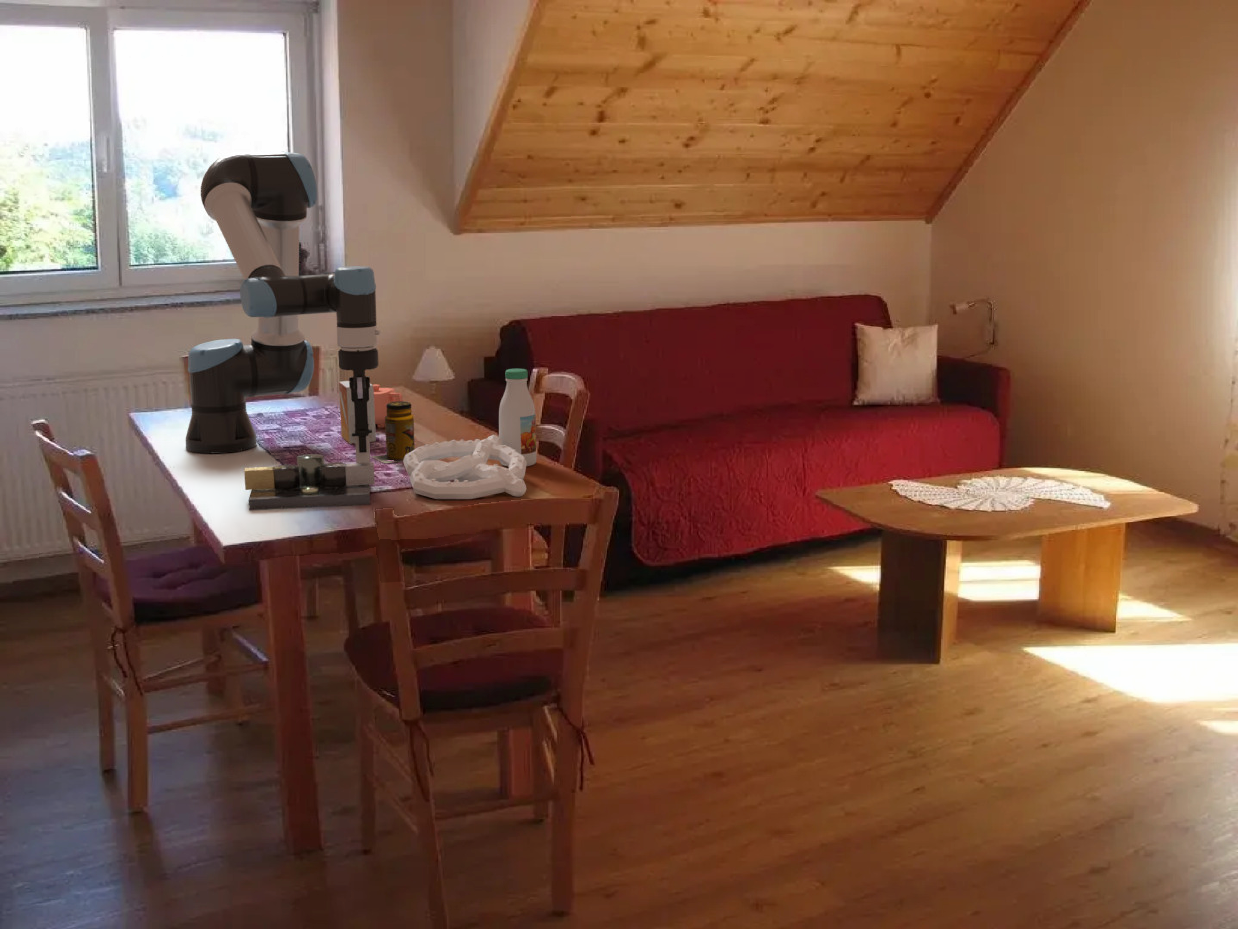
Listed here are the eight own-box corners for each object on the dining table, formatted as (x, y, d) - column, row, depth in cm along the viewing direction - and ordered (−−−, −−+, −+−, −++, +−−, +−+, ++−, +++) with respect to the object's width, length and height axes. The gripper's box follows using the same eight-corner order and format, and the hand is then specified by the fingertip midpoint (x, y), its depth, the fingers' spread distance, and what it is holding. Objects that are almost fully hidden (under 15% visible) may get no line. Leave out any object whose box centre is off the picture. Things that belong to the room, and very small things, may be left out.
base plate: (254, 490, 273) (252, 455, 272) (369, 485, 277) (367, 450, 275) (249, 510, 259) (246, 473, 257) (370, 504, 263) (368, 468, 261)
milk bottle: (508, 469, 290) (506, 374, 285) (494, 462, 297) (492, 368, 292) (542, 465, 293) (541, 371, 289) (527, 458, 300) (525, 365, 295)
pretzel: (542, 504, 269) (541, 473, 266) (418, 517, 263) (416, 485, 260) (513, 454, 294) (512, 425, 291) (400, 465, 288) (398, 435, 286)
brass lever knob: (246, 485, 268) (245, 466, 267) (300, 482, 269) (299, 464, 269) (244, 491, 263) (243, 472, 262) (299, 489, 265) (298, 470, 264)
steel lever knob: (321, 481, 270) (320, 463, 269) (374, 479, 272) (373, 461, 271) (321, 488, 265) (320, 469, 265) (374, 485, 267) (373, 466, 266)
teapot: (344, 422, 338) (342, 383, 335) (392, 418, 343) (390, 379, 341) (358, 431, 328) (356, 390, 325) (407, 426, 333) (405, 386, 330)
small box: (341, 437, 321) (338, 381, 318) (368, 435, 324) (366, 379, 321) (348, 444, 314) (346, 386, 311) (376, 441, 316) (374, 384, 313)
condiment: (422, 459, 299) (420, 404, 297) (385, 464, 295) (383, 408, 292) (407, 453, 305) (405, 398, 303) (371, 457, 301) (369, 402, 298)
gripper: (378, 352, 264) (383, 474, 269) (377, 342, 276) (382, 459, 281) (337, 353, 262) (343, 476, 267) (338, 343, 275) (344, 461, 280)
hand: (363, 467), depth 274 cm, fingers closed
